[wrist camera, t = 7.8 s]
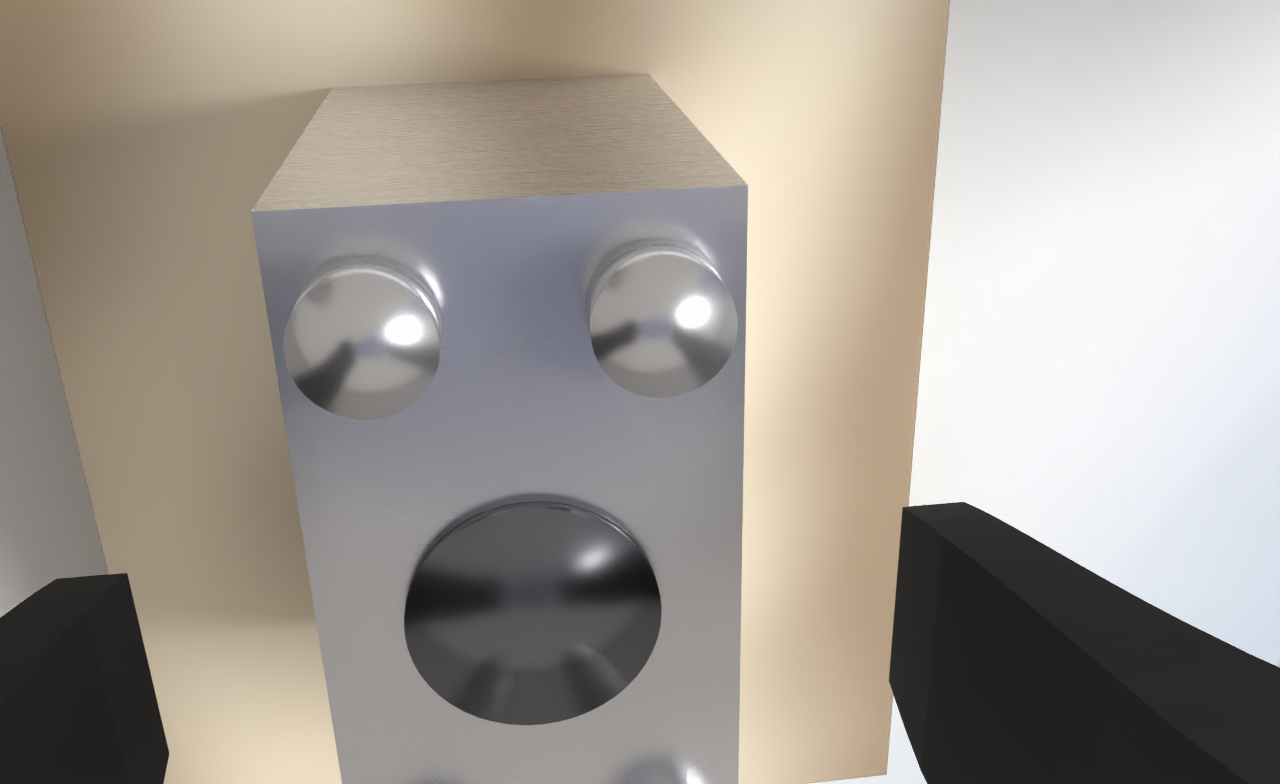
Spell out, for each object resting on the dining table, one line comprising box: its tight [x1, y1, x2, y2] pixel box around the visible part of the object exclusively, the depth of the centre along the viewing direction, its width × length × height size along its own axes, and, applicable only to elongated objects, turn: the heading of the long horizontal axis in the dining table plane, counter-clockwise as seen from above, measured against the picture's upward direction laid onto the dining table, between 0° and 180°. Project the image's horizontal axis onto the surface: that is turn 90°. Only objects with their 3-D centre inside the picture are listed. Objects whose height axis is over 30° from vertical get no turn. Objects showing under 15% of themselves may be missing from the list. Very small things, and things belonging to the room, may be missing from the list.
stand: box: [0, 0, 950, 784], centre depth 18 cm, size 12×16×3 cm
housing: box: [251, 74, 748, 784], centre depth 14 cm, size 4×8×7 cm, turn 2°
